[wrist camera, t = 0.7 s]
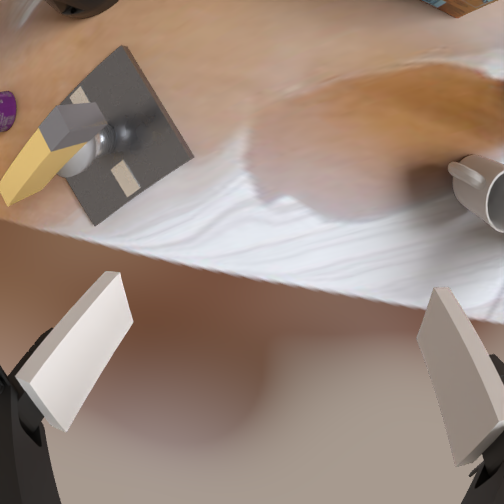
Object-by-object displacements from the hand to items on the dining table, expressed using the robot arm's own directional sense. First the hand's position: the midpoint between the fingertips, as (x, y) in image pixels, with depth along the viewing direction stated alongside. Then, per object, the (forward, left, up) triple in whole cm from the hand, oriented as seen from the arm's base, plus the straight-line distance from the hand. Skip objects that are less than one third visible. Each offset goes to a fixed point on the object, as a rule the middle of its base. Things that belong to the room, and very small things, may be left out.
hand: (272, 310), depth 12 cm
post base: (-16, -18, -26) cm, 36 cm away
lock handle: (-16, -18, -19) cm, 31 cm away
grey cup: (+10, +21, -27) cm, 35 cm away
